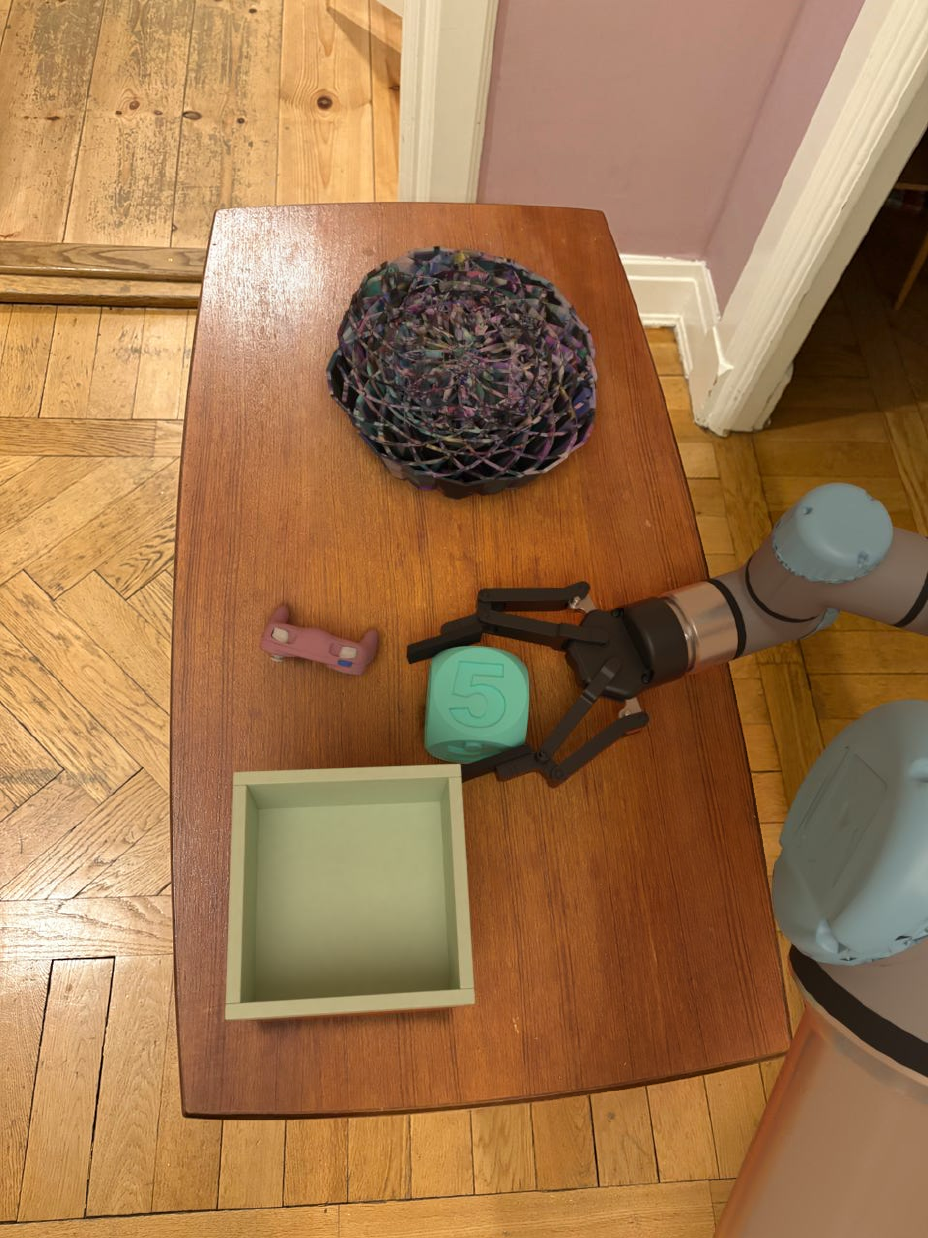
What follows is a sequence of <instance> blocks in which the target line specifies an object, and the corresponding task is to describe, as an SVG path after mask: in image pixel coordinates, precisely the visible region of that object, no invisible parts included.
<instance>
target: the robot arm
mask: <svg viewBox="0 0 928 1238" xmlns="http://www.w3.org/2000/svg"><path fill="white" fill-rule="evenodd" d="M590 591H591V585H590V584H589V582H587V581H585V580H581V581H578V582H575V583H572V584H569V585H567V586H563V587H497V588H496V587H493V588H492V587H489V588H487V587H485V588H481V589H479V591H478V593H477V596H476V600H475V604H474V608H475V611H474V613H472V614H469V615H466V616H462V617H460V618H457V619H453V620H450V621H447V622H444V623H443V624H442V625H440V631H439V635H436V636H433V637H429V638H426V639H423V640H420V641H416V642H413V643H410V644H407V646H406V653H405V654H406V655H405V658H406V660H407V661H406V662H407V664H408V665H409V666H410V665H414V664H416V663H419V662H423V661H425V660H429V659H432V658H433V657H434V656H435V655H436V654H438V653H439V652H441V651H444V650H447V649H450V648H455V647H463V646H475V645H476V644H480V643H481V641H482V638H483V634H486V635H491V636H495V637H501V638H505V639H511V640H514V641H520V642H525V643H529V644H532V645H533V644H534V645H539V646H543V647H548V648H551V650H552V651H556V652H561V653H564V655H563V657H564V660H565V662H566V664H567V666H568V667H569V668H570V669H571V670H572V672H573V678H574V682H575V685H576V687H577V689H581V690H582V693H581V694H580V696H578V698H577V699H576V700H575V702H574V703H573V705H572V706H571V707H570V708H569V709H568V711H567V712H566V713H565V715H564V716H563V717H562V718H561V720H560V721H559V722H558V724H557V725H556V726H555V727H554V729H553V730H552V731H551V733H550V734H549V735H548V736H547V737H546V739H545V740H544V741H543V742H542V744H541V745H540V746H539V747H538V748H537V750H536V751H534V752H533V748H532V746H531V744H530V742H528V743H524V745H522V746H519V747H516V748H513V749H510V750H507V751H504V752H501V753H498V754H495V755H493V756H490V757H487V758H484V759H481V760H478V761H475V762H472V763H469V764H463V765H461V778H462V784H463V783H466V782H469V781H472V780H475V779H477V778H480V777H483V776H486V775H489V774H492V773H494V776H495V778H496V781H497V782H498V783H499V782H500V783H501V782H502V783H505V782H508V781H510V780H514V779H516V778H519V777H521V776H525V775H528V774H530V773H537V774H539V775H540V776H541V777H542V778H543V779H544V780H545V783H546V785H547V786H548V787H549V788H551V789H557V788H558V787H560V786H562V784H564V783H565V782H566V781H568V780H569V779H570V778H571V777H572V776H574V775H576V773H578V772H579V771H581V769H583V768H584V767H585V766H587V765H588V764H589V763H590V762H592V761H593V760H594V759H596V758H597V757H599V755H601V754H602V753H603V752H605V751H606V750H607V749H608V748H610V747H611V746H613V745H614V744H615V743H617V742H618V741H619V740H620V739H623V738H628V737H630V736H634V735H637V734H639V733H641V732H642V731H643V729H644V728H646V726H647V725H648V724H649V723H650V722H651V721H650V720H651V718H650V714H648V713H647V712H646V711H643V710H642V708H641V706H640V703H639V700H638V698H637V696H639V694H641V693H642V692H646V691H649V690H651V689H654V688H658V687H660V686H663V685H666V684H669V683H672V682H674V681H677V680H680V679H682V678H683V677H684V675H687V676H691V675H695V674H698V673H700V672H704V671H707V670H710V669H712V668H716V667H719V666H722V665H725V664H728V663H729V662H733V661H735V660H737V659H740V658H743V657H746V656H749V655H752V654H755V653H758V652H762V651H764V650H768V649H771V648H773V647H777V646H779V645H783V644H786V643H788V642H795V641H796V640H799V641H801V640H803V639H806V638H808V637H809V636H811V635H813V634H814V633H816V632H819V631H822V630H824V629H826V628H828V627H830V626H832V625H833V624H834V623H835V622H836V621H837V620H838V618H839V617H840V615H841V612H844V613H847V614H852V615H854V616H859V617H861V618H865V619H869V620H872V621H875V622H879V623H881V624H886V625H888V626H891V627H895V628H898V629H900V630H905V631H908V632H911V633H915V634H917V635H920V636H924V637H927V638H928V536H927V535H924V534H921V533H918V532H914V531H911V530H908V529H905V528H901V527H898V526H894V525H893V522H892V518H891V516H890V514H889V512H888V510H887V508H886V507H885V506H884V504H883V503H882V502H881V501H880V500H879V499H875V498H873V497H872V496H871V495H870V494H869V493H868V492H867V490H866V489H865V488H862V487H860V486H857V485H855V484H852V483H846V482H829V483H824V484H821V485H818V486H816V487H813V488H812V489H811V490H809V491H808V492H806V493H804V495H803V496H801V498H799V499H798V500H797V501H796V502H795V503H793V505H791V506H790V507H789V508H788V509H787V510H786V511H785V512H784V513H783V514H782V515H781V516H780V518H779V519H778V520H777V522H776V523H775V525H774V527H773V528H772V529H771V531H770V532H769V533H768V535H767V536H766V537H765V539H764V540H763V541H762V543H761V544H760V545H759V547H758V548H757V549H756V550H755V551H754V552H753V553H752V554H751V556H750V557H749V558H748V559H747V561H745V563H744V564H743V565H742V566H740V567H739V568H737V569H735V570H731V571H728V572H725V573H722V574H719V575H716V576H713V577H709V578H706V579H704V580H701V581H698V582H694V583H691V584H688V585H685V586H682V587H678V588H675V589H671V590H669V591H665V592H662V593H660V594H659V595H658V597H657V596H648V597H646V598H642V599H640V600H637V601H634V602H630V603H627V604H624V605H621V606H618V607H615V608H612V609H608V610H606V609H599V608H597V607H596V605H595V604H594V602H593V600H592V598H591V596H590V593H589V592H590ZM566 610H567V611H568V612H569V613H570V614H577V613H578V614H580V615H582V616H583V618H582V619H581V621H580V622H579V624H578V625H576V624H571V623H568V622H558V623H555V622H550V621H545V620H541V619H536V618H531V617H526V616H522V615H517V614H513V613H542V612H543V613H544V612H549V613H550V612H554V613H555V612H562V611H566ZM599 698H602V699H606V700H608V701H613V702H615V703H620V704H622V706H623V707H622V709H620V710H619V711H618V713H617V714H616V716H615V720H614V721H613V722H612V723H610V724H608V725H607V727H605V728H604V729H602V730H601V731H600V732H599V733H597V734H596V735H595V736H593V737H592V738H591V739H589V740H588V741H586V743H584V744H583V745H582V746H580V747H578V749H576V750H575V751H574V752H572V753H571V754H570V755H568V756H567V757H566V758H565V759H563V760H562V761H561V762H559V763H557V762H556V761H555V760H554V759H553V756H555V754H556V753H557V751H558V750H559V749H560V748H561V746H562V745H563V744H564V742H565V741H566V740H567V739H568V737H569V736H570V735H571V734H572V732H574V730H575V728H576V727H577V726H578V724H580V722H581V721H582V719H583V718H584V717H585V716H586V714H587V713H588V712H589V711H590V709H591V708H592V707H593V705H594V704H595V703H596V702H597V700H598V699H599ZM778 844H779V846H780V847H781V851H780V853H779V855H778V857H777V859H775V861H774V864H773V869H772V874H771V875H772V877H771V878H772V879H771V881H772V882H771V904H772V910H773V914H774V918H775V920H776V923H777V925H778V929H779V930H780V932H781V933H782V935H783V936H784V938H785V939H786V940H787V941H788V942H789V943H791V945H790V948H789V950H788V954H787V956H786V959H787V968H788V971H789V974H790V977H791V979H792V980H793V982H794V984H795V986H796V988H797V990H798V993H799V994H800V996H801V999H802V1000H803V1002H804V1004H805V1008H804V1011H803V1012H802V1016H801V1018H800V1019H799V1023H798V1025H797V1027H796V1029H795V1032H794V1035H793V1038H792V1040H791V1042H790V1045H789V1047H788V1050H787V1053H786V1055H785V1057H784V1060H783V1062H782V1064H781V1067H780V1070H779V1072H778V1074H777V1077H776V1079H775V1081H774V1084H773V1087H772V1089H771V1092H770V1094H769V1097H768V1099H767V1102H766V1104H765V1106H764V1109H763V1111H762V1114H761V1116H760V1119H759V1122H758V1124H757V1127H756V1128H755V1132H754V1134H753V1137H752V1138H751V1141H750V1144H749V1147H748V1148H747V1151H746V1153H745V1155H744V1159H743V1161H742V1163H741V1166H740V1169H739V1171H738V1174H737V1176H736V1178H735V1181H734V1183H733V1186H732V1188H731V1191H730V1193H729V1195H728V1198H727V1200H726V1203H725V1206H724V1208H723V1211H722V1213H721V1215H720V1218H719V1220H718V1223H717V1225H716V1228H715V1230H714V1233H713V1234H712V1238H928V700H927V699H919V698H918V699H917V698H910V699H909V698H908V699H899V700H895V701H894V700H893V701H889V702H886V703H883V704H881V705H878V706H876V707H874V708H871V709H869V710H867V711H866V712H865V713H864V714H862V715H861V716H860V717H859V718H857V719H855V720H853V721H851V722H850V723H849V724H847V725H846V726H845V727H844V728H843V729H842V730H841V731H839V733H837V734H836V735H835V737H833V739H832V740H831V741H830V742H829V743H828V744H827V746H826V747H825V748H824V749H823V751H822V752H821V753H820V755H819V756H818V757H817V758H816V760H815V762H814V763H813V764H812V766H811V767H810V769H809V771H808V772H807V774H806V776H805V777H804V779H803V781H802V782H801V785H800V786H799V788H798V789H797V792H796V794H795V796H794V798H793V800H792V803H791V805H790V808H789V810H788V813H787V815H786V817H785V819H784V822H783V825H782V828H781V831H780V836H779V838H778Z"/></svg>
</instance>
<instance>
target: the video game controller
mask: <svg viewBox="0 0 928 1238" xmlns="http://www.w3.org/2000/svg"><path fill="white" fill-rule="evenodd" d="M289 618H290V609H289V607H288V606H287V605H285V604H282V605H280V606H278V607H277V608H276V609H275V610H274V612H273V613H272V615H271V616H270V618H269V619H268V620H267V623H266V625H265V626H264V629H263V631H262V634H261V636H260V642H259V646H258V648H259V649H260V650H262V651H265V652H267V653H269V654H270V655H272V656H269V659H271V661H273V662H276V663H281V662H284V661H285V659H283V658H287V657H288V658H302V659H306V660H309V661H315V662H318V663H322V664H325V667H326V668H329V669H331V670H334V671H336V672H339V673H342V674H346V675H353V676H365V674H366V670H367V668H369V666H370V664H371V663H372V661H373V660H374V659H375V656H376V653H377V650H378V646H379V632H378V631H377V629H375V628H371V629H368V631H366V632H365V633H364V635H363V636H362V638H361V639H360V640H359V642H356V641H353V640H350V639H348V638H347V639H346V638H343V637H339V636H335V635H333V634H331V633H329V631H326V630H325V629H323V628H322V629H321V628H318V627H301V626H298V625H294V624H290V623H288V621H289Z"/></svg>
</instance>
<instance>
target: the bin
mask: <svg viewBox="0 0 928 1238" xmlns="http://www.w3.org/2000/svg"><path fill="white" fill-rule="evenodd" d="M461 766H462V763H445V764H444V763H442V764H416V765H415V764H413V765H388V766H384V765H383V766H360V767H359V766H358V767H335V768H305V769H283V770H282V769H279V770H277V769H276V770H275V769H274V770H251V771H250V770H249V771H233V773H232V799H231V800H232V801H231V803H232V805H231V833H230V861H229V862H230V863H229V887H228V889H229V892H228V916H227V917H228V919H227V920H228V921H227V949H226V950H227V952H226V979H225V980H226V981H225V1006H224V1020H225V1021H226V1020H227V1021H247V1020H257V1019H272V1018H288V1017H303V1016H319V1015H334V1014H349V1013H365V1012H380V1011H396V1010H411V1009H426V1008H442V1007H455V1008H458V1007H457V1006H460V1007H465V1006H470V1005H474V1004H476V995H475V993H476V992H475V991H476V990H475V978H474V976H475V975H474V962H473V961H474V960H473V958H474V957H473V945H472V944H473V943H472V942H473V941H472V930H471V929H472V928H471V927H472V926H471V909H470V895H469V878H468V860H467V846H466V845H467V843H466V829H465V828H466V827H465V814H464V813H465V811H464V797H463V783H462V778H461Z"/></svg>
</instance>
